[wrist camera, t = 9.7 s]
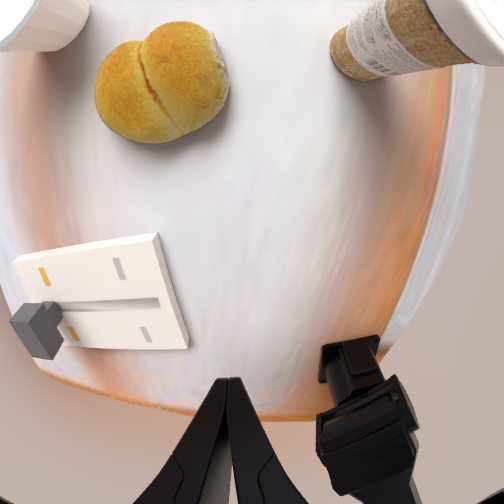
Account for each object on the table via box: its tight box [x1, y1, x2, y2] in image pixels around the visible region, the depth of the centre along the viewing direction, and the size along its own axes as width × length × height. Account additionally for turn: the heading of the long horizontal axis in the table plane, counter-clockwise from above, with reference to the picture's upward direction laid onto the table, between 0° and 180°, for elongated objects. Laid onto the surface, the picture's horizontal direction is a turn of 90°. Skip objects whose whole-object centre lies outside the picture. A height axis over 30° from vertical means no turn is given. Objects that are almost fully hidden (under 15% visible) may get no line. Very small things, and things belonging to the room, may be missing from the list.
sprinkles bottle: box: [330, 0, 504, 82], centre depth 8 cm, size 5×5×13 cm
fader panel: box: [12, 232, 190, 349], centre depth 22 cm, size 11×17×2 cm, turn 96°
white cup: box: [0, 0, 90, 52], centre depth 8 cm, size 7×7×7 cm
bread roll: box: [94, 22, 230, 144], centre depth 14 cm, size 8×9×4 cm
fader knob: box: [9, 301, 64, 360], centre depth 19 cm, size 4×3×5 cm
